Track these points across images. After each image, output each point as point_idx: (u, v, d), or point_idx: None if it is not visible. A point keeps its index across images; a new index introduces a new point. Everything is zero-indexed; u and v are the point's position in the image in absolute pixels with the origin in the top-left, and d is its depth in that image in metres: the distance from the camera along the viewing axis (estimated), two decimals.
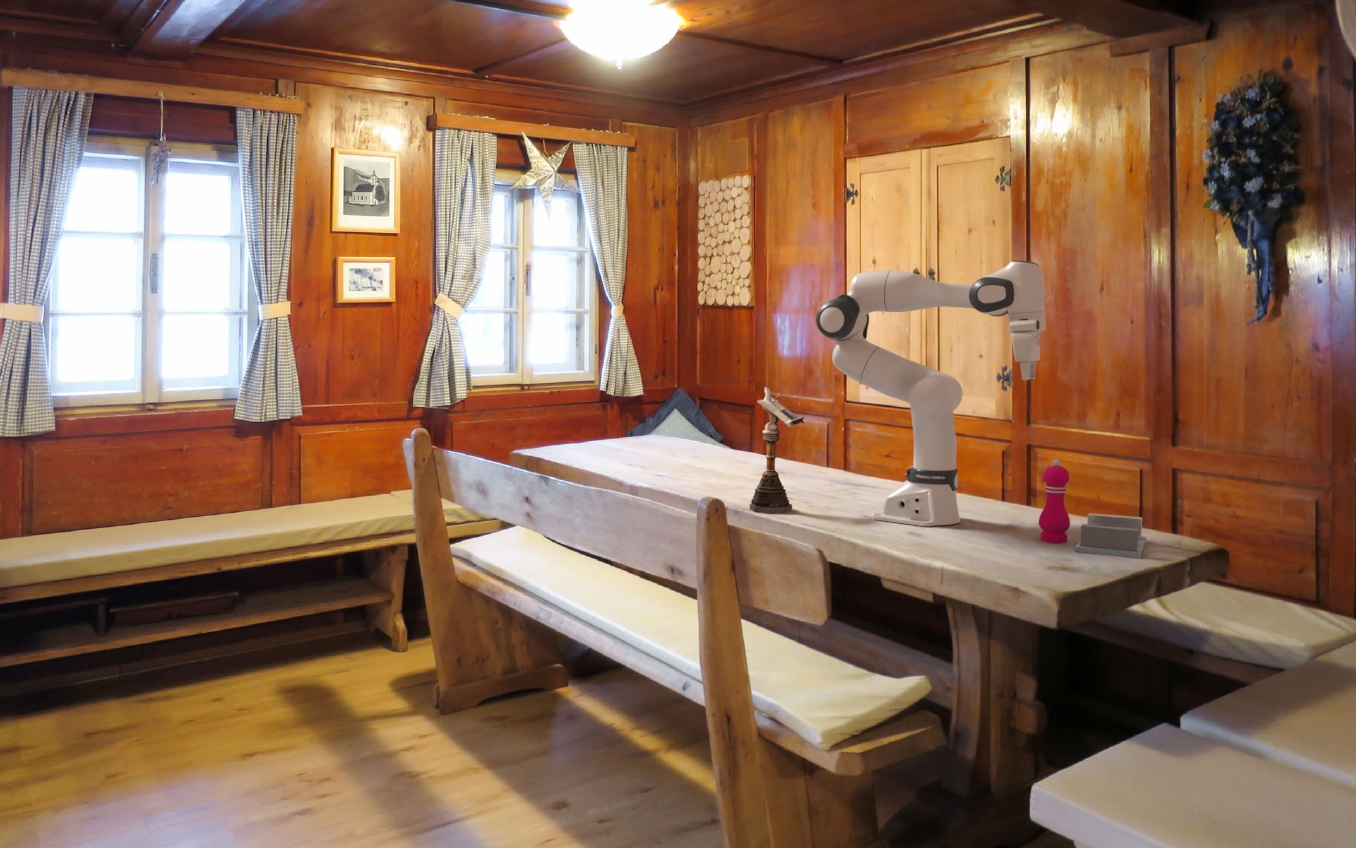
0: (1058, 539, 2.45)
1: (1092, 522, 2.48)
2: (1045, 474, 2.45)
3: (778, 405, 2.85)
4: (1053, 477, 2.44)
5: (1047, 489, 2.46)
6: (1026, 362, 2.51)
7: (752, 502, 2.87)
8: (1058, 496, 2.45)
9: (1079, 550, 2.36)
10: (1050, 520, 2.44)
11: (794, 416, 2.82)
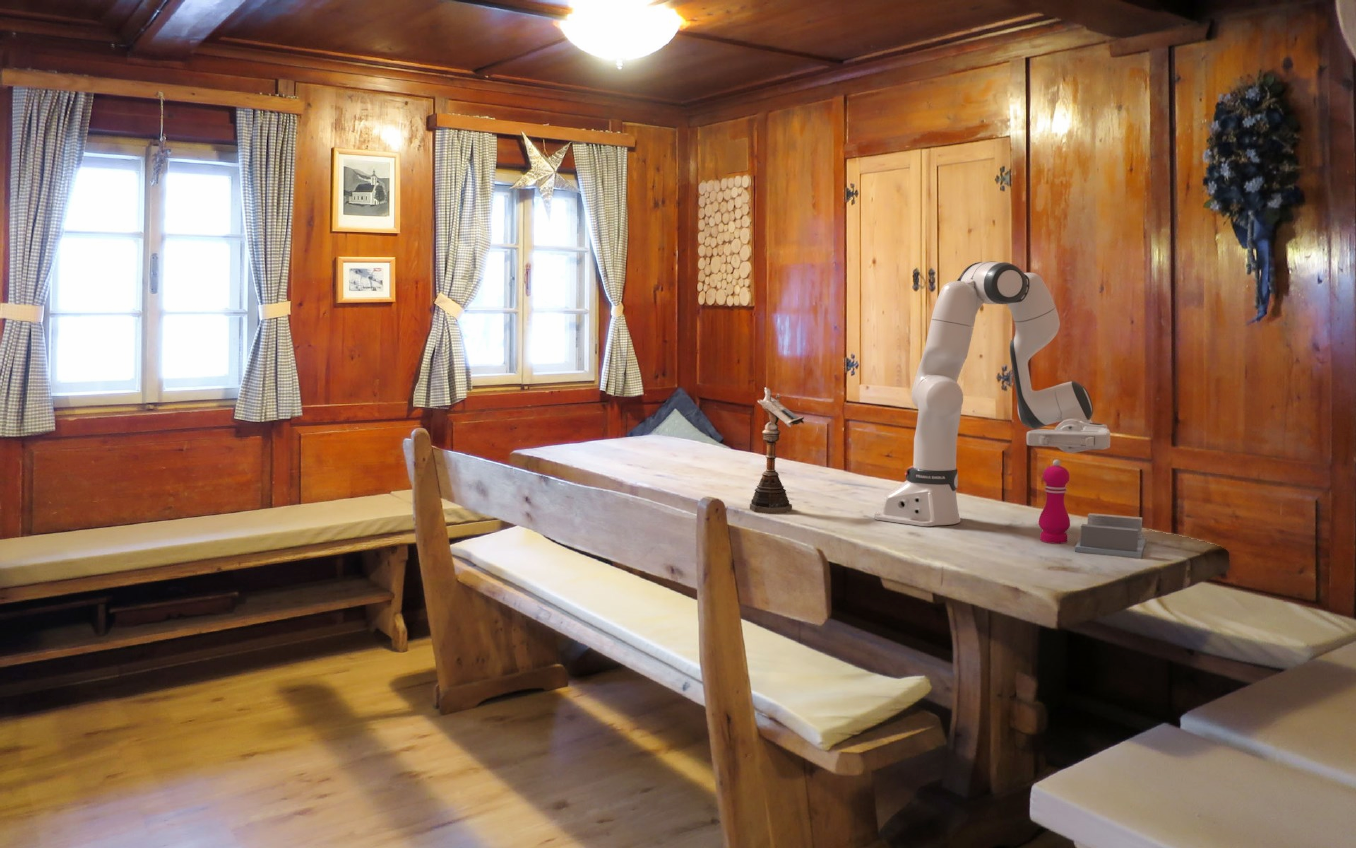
0: (1058, 539, 2.45)
1: (1092, 522, 2.48)
2: (1045, 474, 2.45)
3: (778, 405, 2.85)
4: (1053, 477, 2.44)
5: (1047, 489, 2.46)
6: (1094, 442, 2.56)
7: (752, 502, 2.87)
8: (1058, 496, 2.45)
9: (1079, 550, 2.36)
10: (1050, 520, 2.44)
11: (794, 416, 2.82)
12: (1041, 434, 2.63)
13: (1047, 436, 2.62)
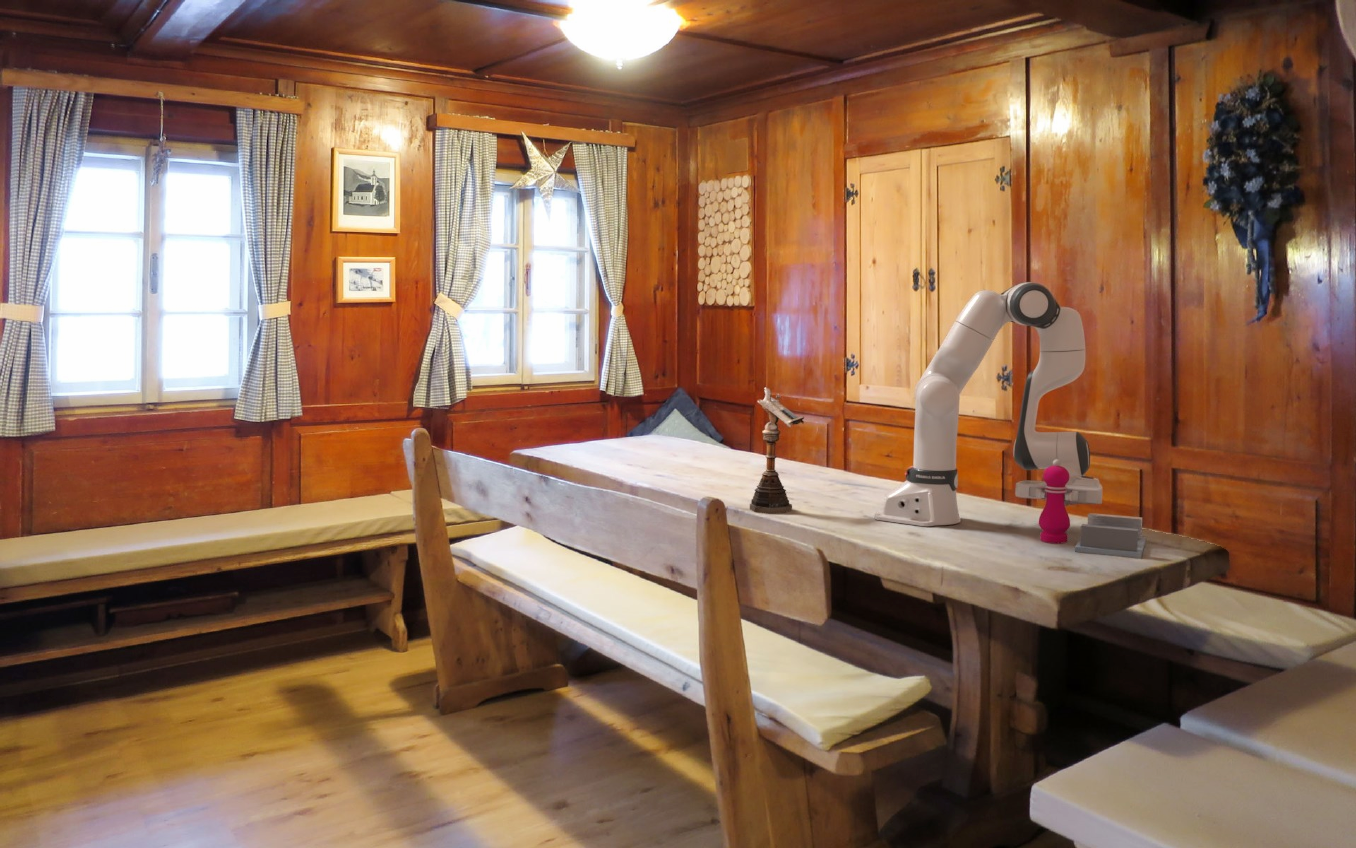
0: (1058, 539, 2.45)
1: (1092, 522, 2.48)
2: (1045, 474, 2.45)
3: (778, 405, 2.85)
4: (1053, 477, 2.43)
5: (1047, 489, 2.46)
6: (1078, 497, 2.47)
7: (752, 502, 2.87)
8: (1058, 496, 2.44)
9: (1079, 550, 2.36)
10: (1050, 520, 2.44)
11: (794, 416, 2.82)
12: (1031, 486, 2.53)
13: (1044, 489, 2.52)
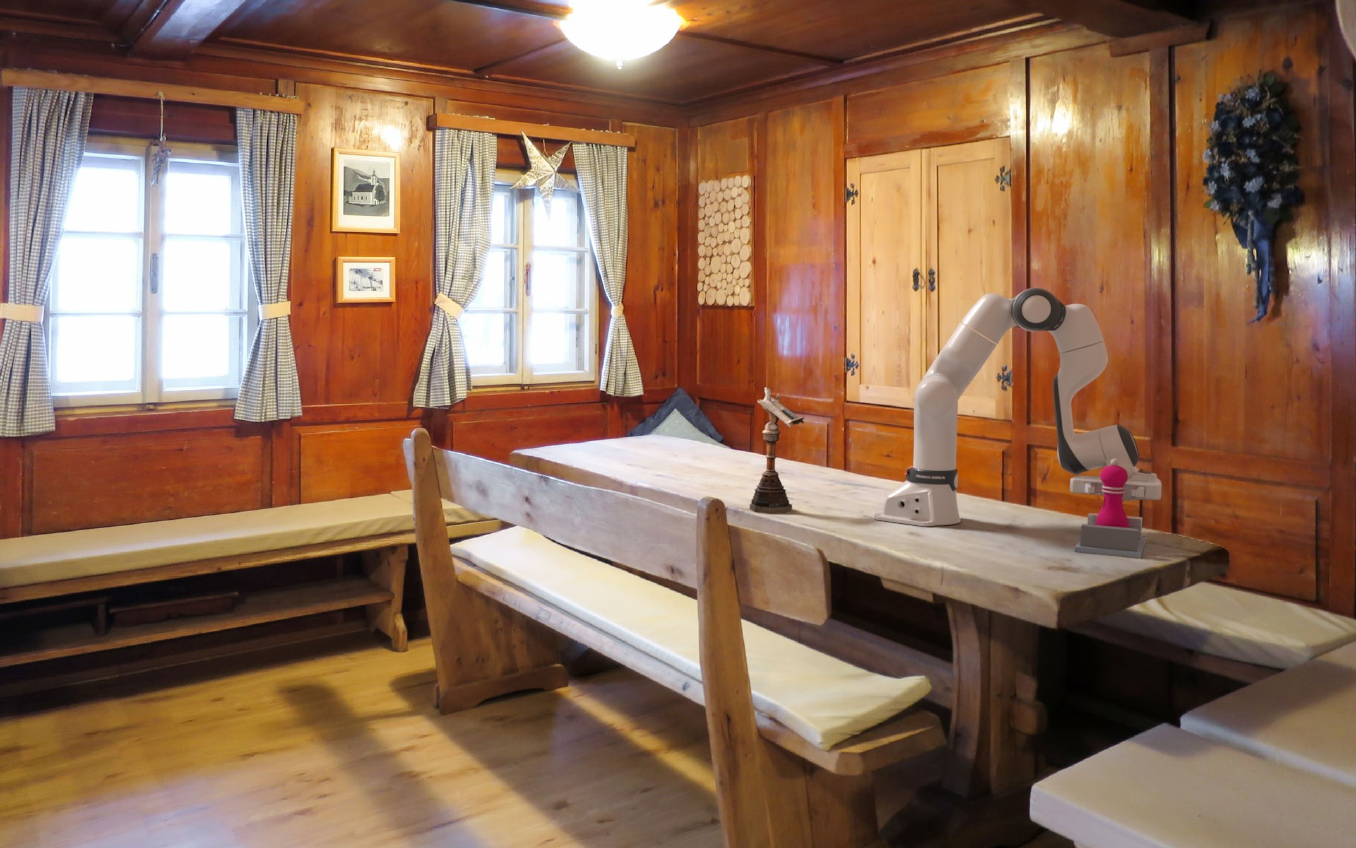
0: None
1: (1092, 522, 2.48)
2: (1103, 474, 2.37)
3: (778, 405, 2.85)
4: (1112, 477, 2.36)
5: (1105, 489, 2.38)
6: (1144, 493, 2.39)
7: (752, 502, 2.87)
8: (1116, 497, 2.37)
9: (1079, 550, 2.36)
10: (1109, 521, 2.36)
11: (794, 416, 2.82)
12: (1086, 481, 2.45)
13: (1093, 484, 2.44)
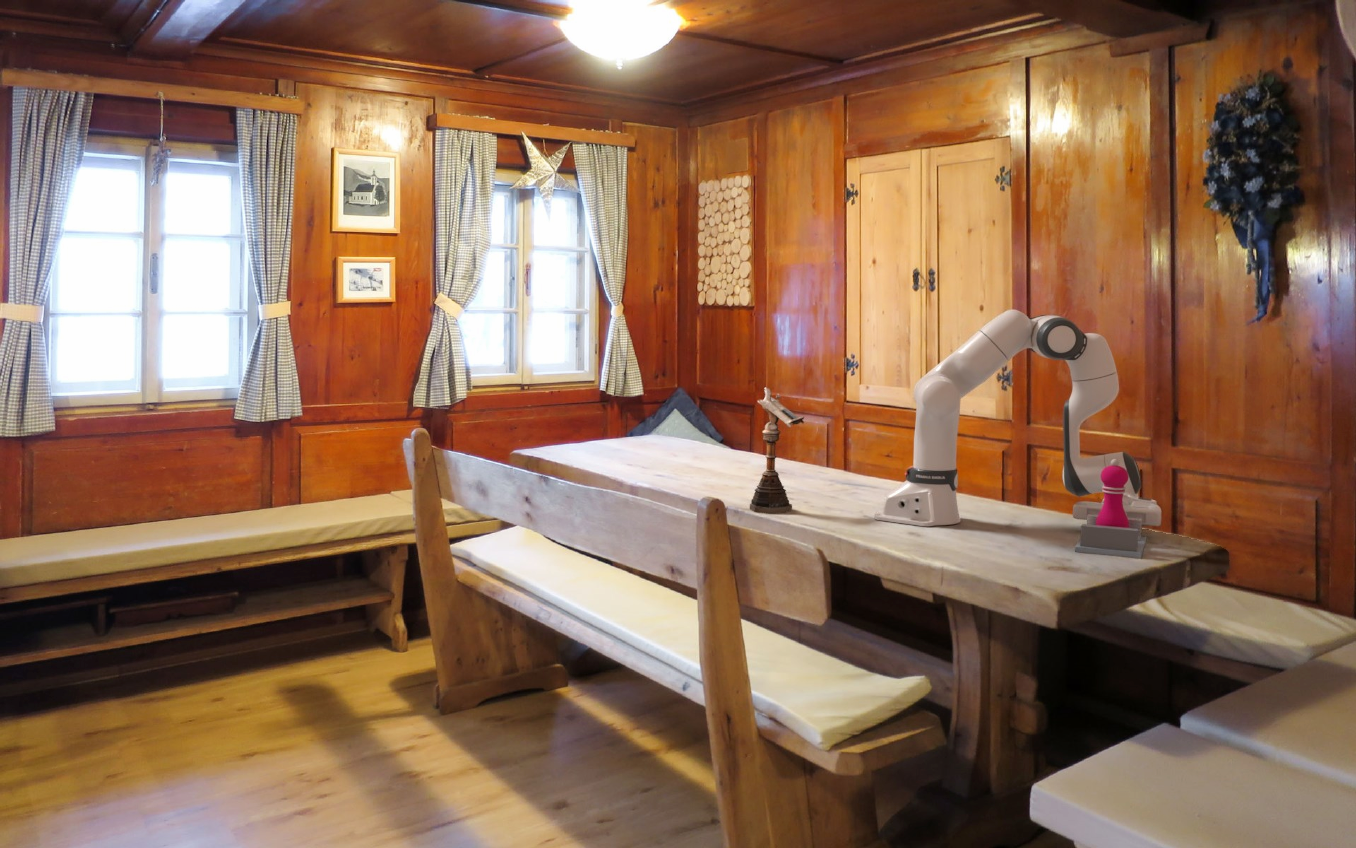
0: None
1: (1092, 523, 2.47)
2: (1103, 474, 2.37)
3: (778, 405, 2.85)
4: (1112, 477, 2.36)
5: (1105, 490, 2.38)
6: None
7: (752, 502, 2.87)
8: (1117, 497, 2.37)
9: (1079, 550, 2.36)
10: (1109, 521, 2.36)
11: (794, 416, 2.82)
12: (1089, 508, 2.54)
13: None
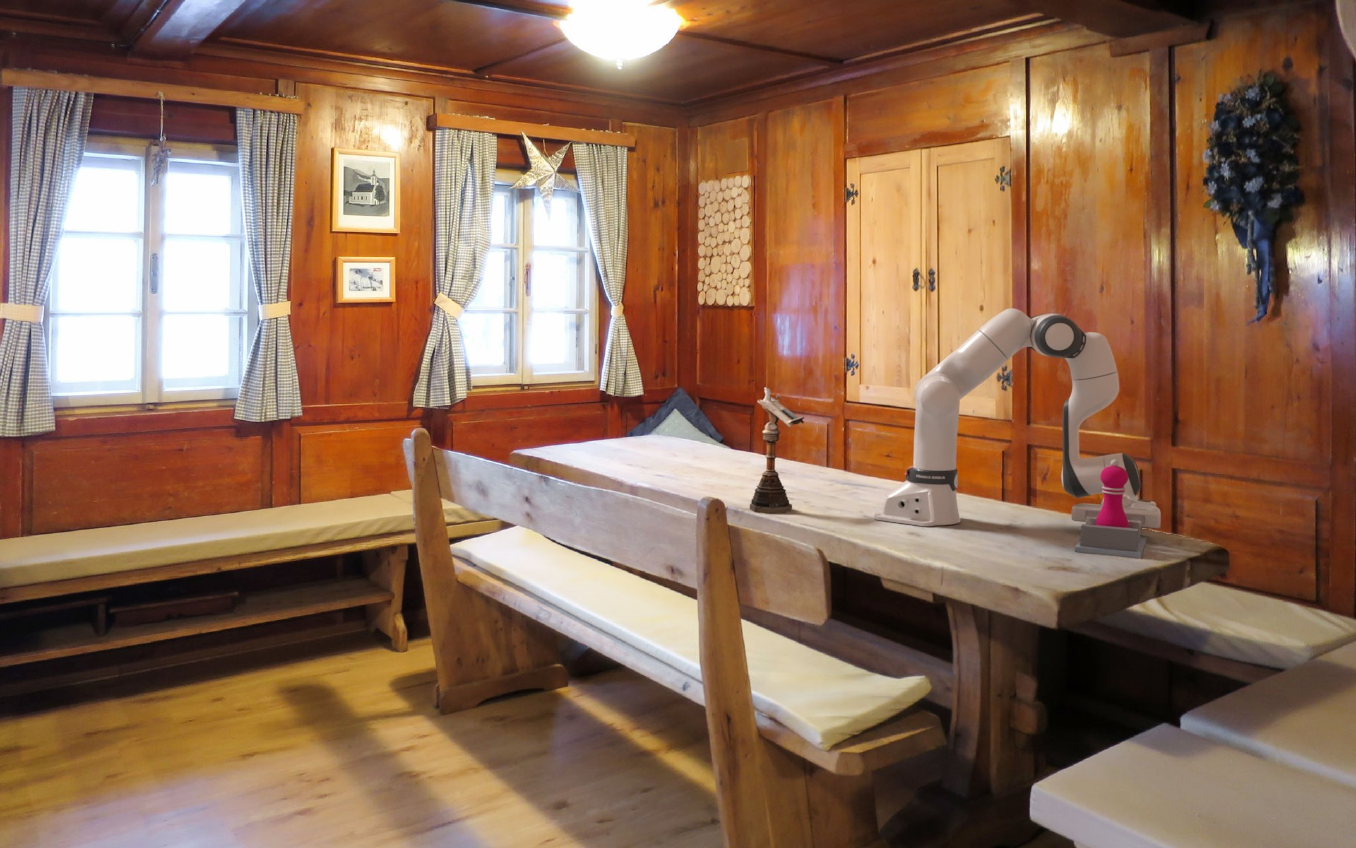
0: None
1: None
2: (1103, 475, 2.37)
3: (778, 405, 2.85)
4: (1112, 477, 2.35)
5: (1105, 490, 2.37)
6: None
7: (752, 502, 2.87)
8: (1116, 498, 2.36)
9: (1079, 550, 2.36)
10: (1108, 522, 2.36)
11: (794, 416, 2.82)
12: (1088, 510, 2.51)
13: None
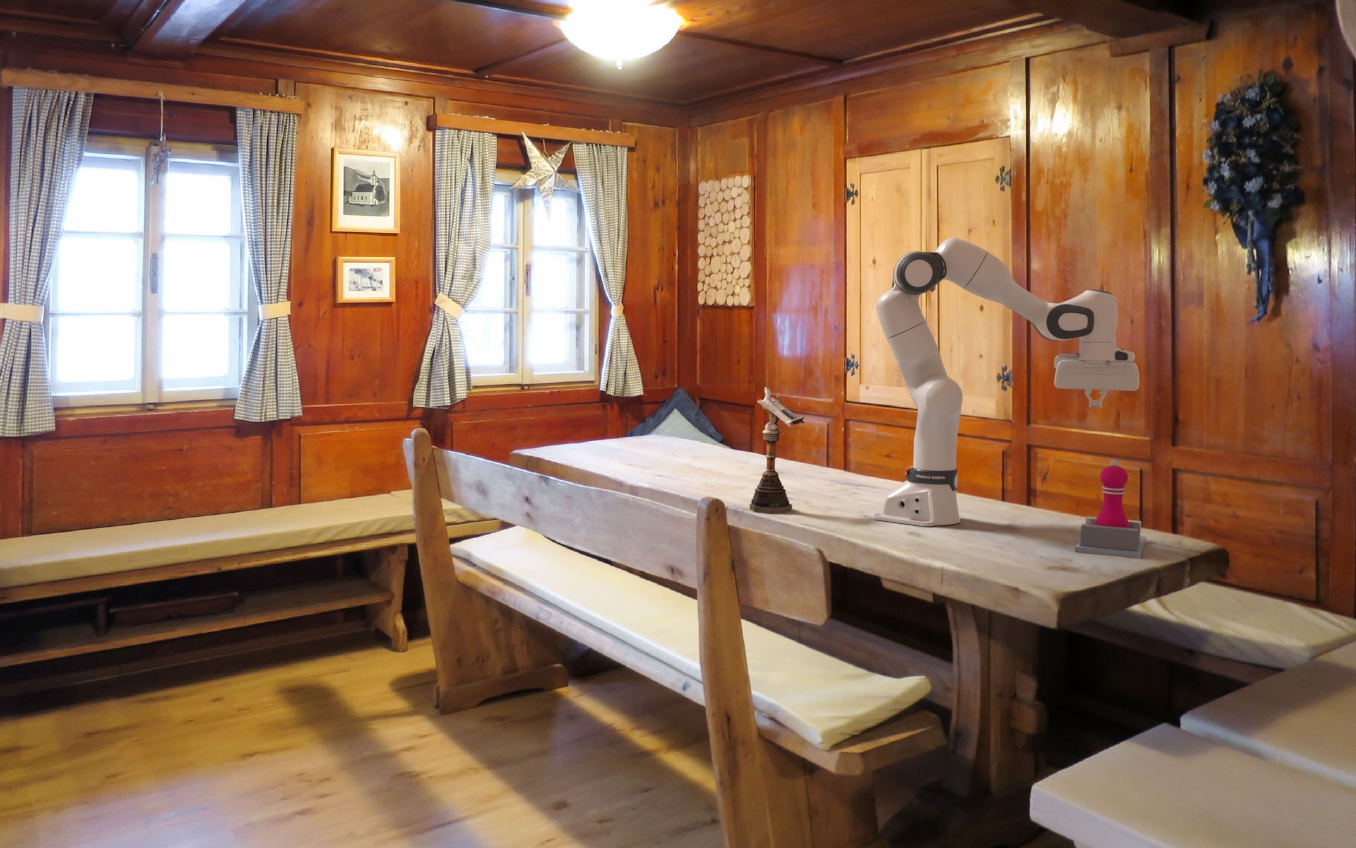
0: None
1: None
2: (1103, 475, 2.37)
3: (778, 405, 2.85)
4: (1112, 478, 2.35)
5: (1105, 490, 2.37)
6: (1106, 390, 2.61)
7: (752, 502, 2.87)
8: (1116, 498, 2.36)
9: (1079, 550, 2.36)
10: (1108, 522, 2.36)
11: (794, 416, 2.82)
12: (1069, 388, 2.63)
13: None
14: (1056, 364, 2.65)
